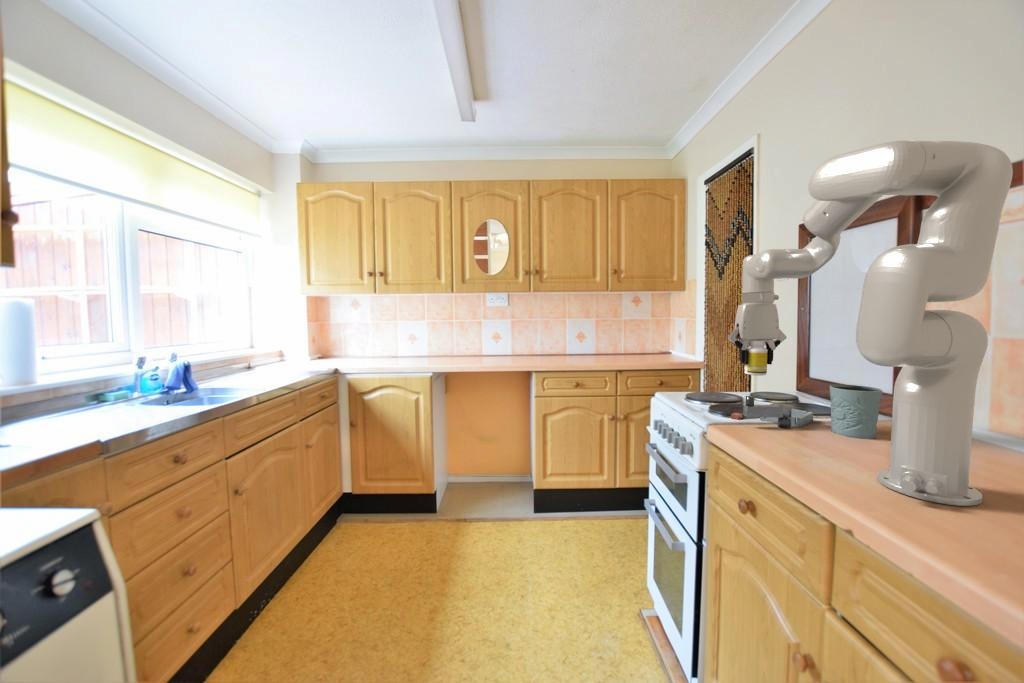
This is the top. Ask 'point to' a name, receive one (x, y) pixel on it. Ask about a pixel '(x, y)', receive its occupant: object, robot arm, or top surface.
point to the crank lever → (766, 409)
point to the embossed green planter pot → (854, 410)
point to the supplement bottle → (756, 358)
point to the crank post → (782, 421)
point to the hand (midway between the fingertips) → (755, 363)
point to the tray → (794, 418)
